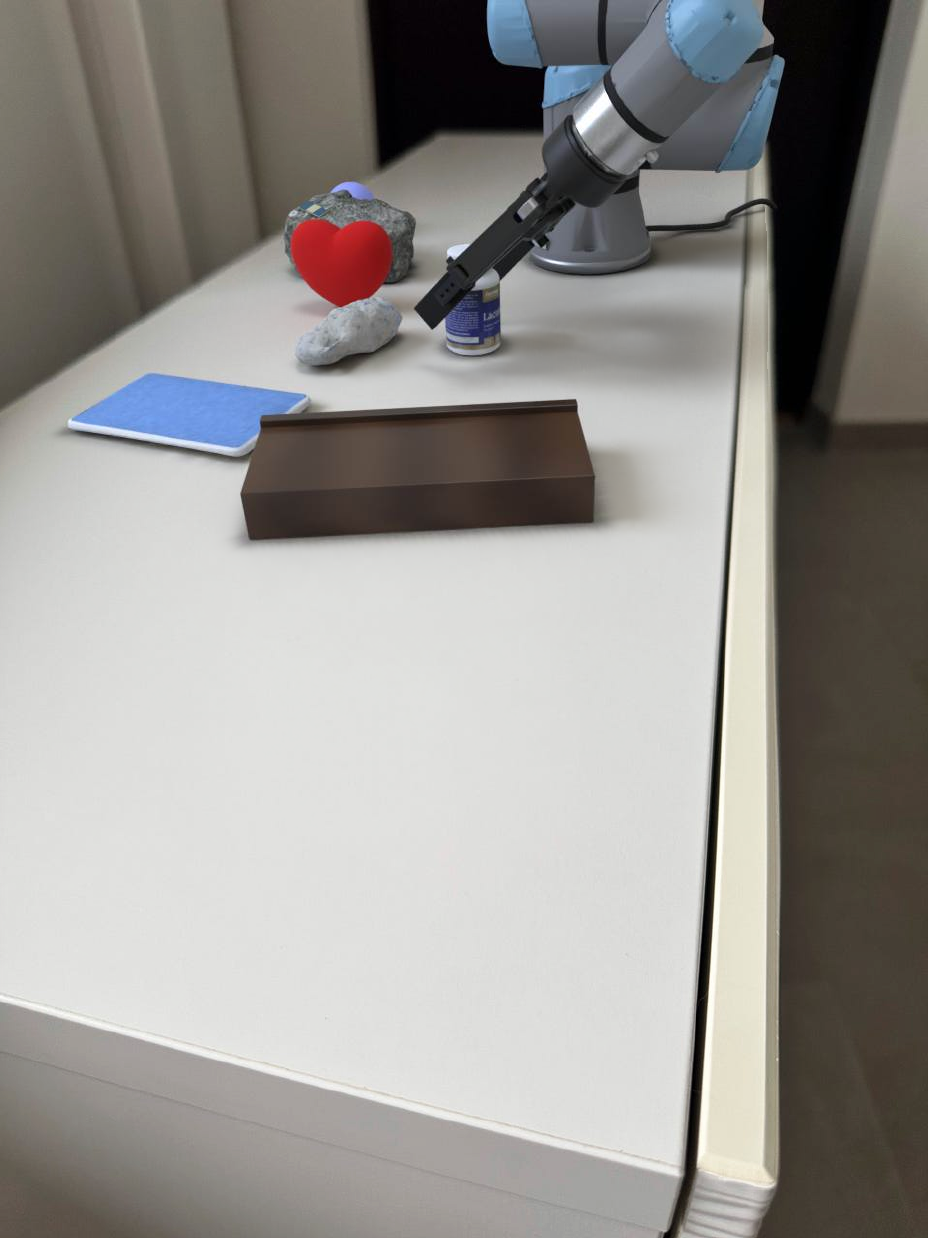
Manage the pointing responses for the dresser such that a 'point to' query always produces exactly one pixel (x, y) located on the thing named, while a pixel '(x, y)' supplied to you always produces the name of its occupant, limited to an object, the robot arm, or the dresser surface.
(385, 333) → the decorative stone
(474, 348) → the pill bottle
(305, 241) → the heart
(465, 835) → the dresser surface
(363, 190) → the sphere
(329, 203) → the rock
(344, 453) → the ledge
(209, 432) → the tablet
